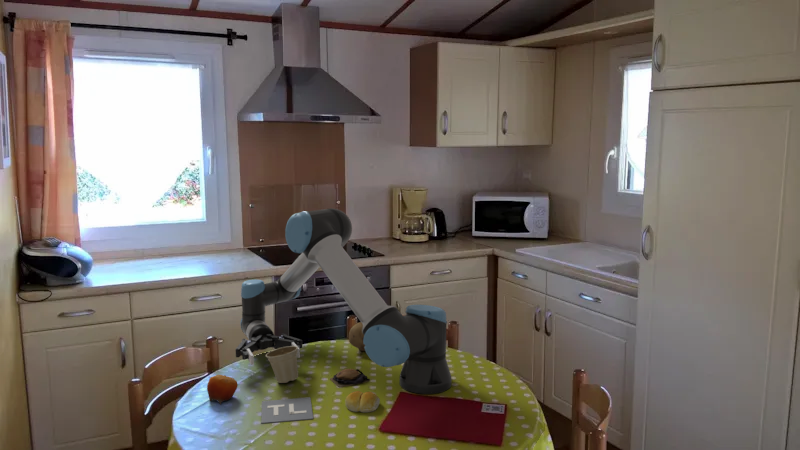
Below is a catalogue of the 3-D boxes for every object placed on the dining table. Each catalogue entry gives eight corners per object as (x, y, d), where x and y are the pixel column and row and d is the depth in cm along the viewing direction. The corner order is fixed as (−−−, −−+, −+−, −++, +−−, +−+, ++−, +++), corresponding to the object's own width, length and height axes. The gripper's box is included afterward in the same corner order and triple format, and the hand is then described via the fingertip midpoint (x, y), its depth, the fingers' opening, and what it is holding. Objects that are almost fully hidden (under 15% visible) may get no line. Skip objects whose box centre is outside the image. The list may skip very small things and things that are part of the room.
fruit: (196, 400, 164) (204, 370, 167) (212, 404, 171) (220, 375, 174) (221, 405, 161) (229, 374, 164) (237, 409, 168) (245, 379, 171)
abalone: (339, 390, 176) (338, 378, 175) (328, 380, 183) (328, 368, 183) (372, 383, 181) (372, 371, 180) (360, 373, 188) (360, 362, 188)
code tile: (261, 423, 154) (261, 422, 154) (262, 401, 167) (262, 400, 167) (313, 419, 157) (313, 417, 157) (310, 397, 169) (310, 396, 169)
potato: (365, 357, 200) (365, 328, 199) (343, 352, 205) (342, 323, 203) (380, 349, 208) (380, 320, 207) (358, 344, 212) (358, 316, 211)
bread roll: (350, 399, 169) (350, 385, 169) (382, 402, 167) (381, 388, 167) (340, 411, 161) (340, 397, 161) (373, 415, 159) (373, 401, 159)
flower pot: (301, 381, 176) (295, 352, 175) (269, 388, 175) (262, 359, 175) (305, 371, 185) (299, 343, 184) (274, 377, 185) (268, 350, 184)
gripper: (298, 341, 204) (317, 362, 185) (220, 351, 193) (232, 375, 174) (297, 319, 203) (316, 338, 184) (219, 328, 192) (231, 350, 173)
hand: (275, 356), depth 179 cm, fingers open, 13 cm apart
